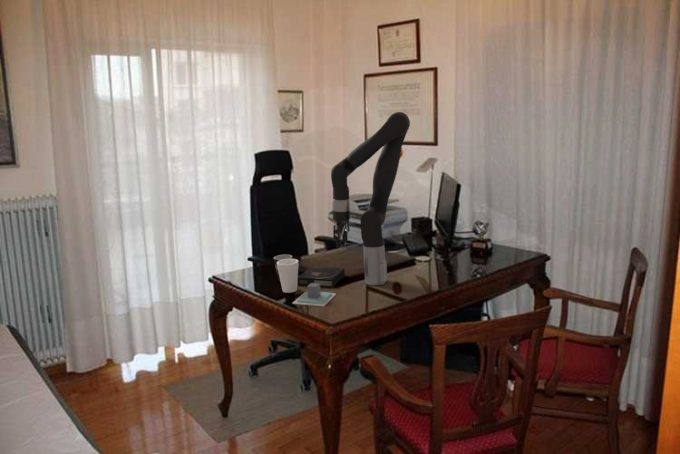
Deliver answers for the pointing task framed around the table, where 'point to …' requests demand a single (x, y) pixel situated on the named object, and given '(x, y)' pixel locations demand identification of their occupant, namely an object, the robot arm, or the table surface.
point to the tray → (314, 303)
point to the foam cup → (288, 274)
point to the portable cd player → (321, 276)
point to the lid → (314, 295)
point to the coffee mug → (280, 257)
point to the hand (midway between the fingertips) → (341, 244)
